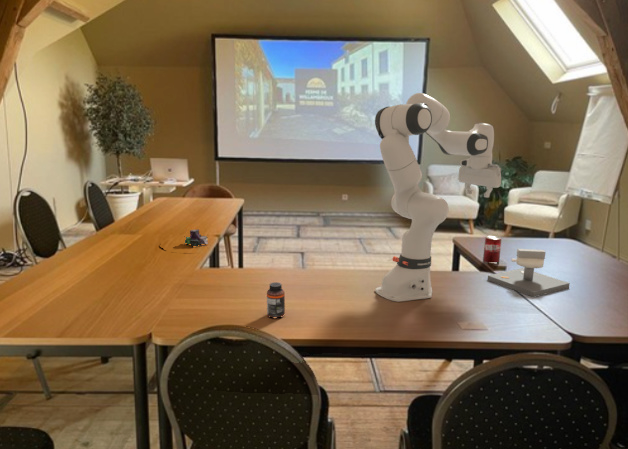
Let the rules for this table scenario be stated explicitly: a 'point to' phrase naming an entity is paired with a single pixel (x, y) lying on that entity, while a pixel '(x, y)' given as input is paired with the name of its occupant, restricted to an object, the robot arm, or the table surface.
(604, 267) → the table surface
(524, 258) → the cap
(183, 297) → the table surface
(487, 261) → the soda can
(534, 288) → the lock base
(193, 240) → the mineral sample
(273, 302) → the supplement bottle
